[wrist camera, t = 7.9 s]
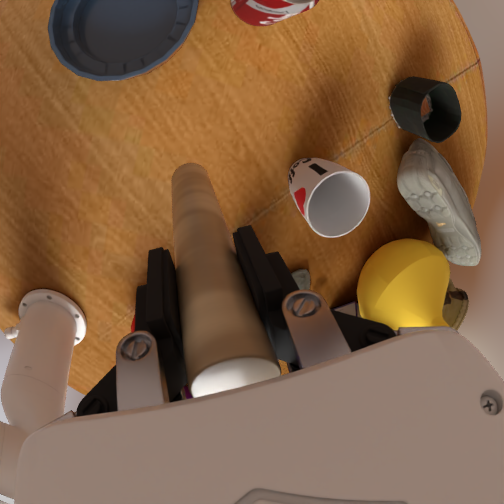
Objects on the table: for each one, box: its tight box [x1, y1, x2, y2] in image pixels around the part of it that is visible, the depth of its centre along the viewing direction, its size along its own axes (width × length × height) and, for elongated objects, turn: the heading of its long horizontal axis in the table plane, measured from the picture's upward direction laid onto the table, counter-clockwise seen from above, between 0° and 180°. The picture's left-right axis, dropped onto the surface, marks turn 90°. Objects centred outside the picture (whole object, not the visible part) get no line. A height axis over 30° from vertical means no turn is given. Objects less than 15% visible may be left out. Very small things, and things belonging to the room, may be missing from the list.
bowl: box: [442, 278, 469, 331], centre depth 59 cm, size 18×18×10 cm
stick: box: [172, 163, 281, 398], centre depth 14 cm, size 3×3×16 cm
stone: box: [291, 269, 310, 290], centre depth 52 cm, size 11×2×5 cm
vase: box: [357, 238, 450, 330], centre depth 47 cm, size 18×18×19 cm
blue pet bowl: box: [48, 0, 199, 81], centre depth 23 cm, size 15×15×6 cm
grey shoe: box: [397, 138, 481, 266], centre depth 45 cm, size 10×29×10 cm
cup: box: [288, 158, 370, 238], centre depth 37 cm, size 8×8×10 cm
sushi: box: [388, 76, 461, 143], centre depth 35 cm, size 8×8×8 cm
